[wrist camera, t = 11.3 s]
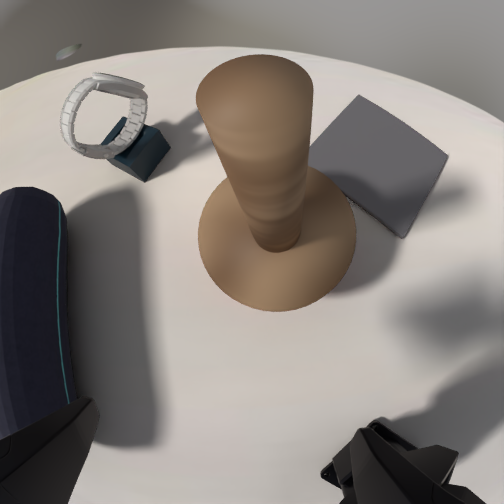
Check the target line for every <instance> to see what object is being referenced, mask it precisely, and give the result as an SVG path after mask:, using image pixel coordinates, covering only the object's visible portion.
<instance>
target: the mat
mask: <svg viewBox="0 0 504 504" xmlns="http://www.w3.org/2000/svg"><path fill="white" fill-rule="evenodd" d="M447 156H448V155H447V154H446V153H444V152H443V151H442V150H441V149H439V148H438V147H437V146H436V145H434V144H433V143H432V142H430V141H429V140H428V139H426V138H425V137H424V136H422V135H421V134H420V133H418V132H417V131H415V130H414V129H413V128H411V127H410V126H408V125H407V124H405V123H404V122H402V121H401V120H399V119H398V118H396V117H395V116H393V115H392V114H390V113H389V112H387V111H386V110H384V109H382V108H381V107H379V106H378V105H376V104H374V103H373V102H371V101H369V100H367V99H366V98H364V97H362V96H360V95H358V96H357V97H356V98H355V99H354V100H353V101H352V102H351V103H350V104H349V105H348V106H347V107H346V108H345V109H344V110H343V111H342V112H341V114H340V115H339V116H338V117H337V118H336V119H335V120H334V121H333V122H332V123H331V124H330V125H329V126H328V127H327V128H326V130H325V131H324V132H323V133H322V134H321V135H320V136H319V137H318V138H317V139H316V140H315V141H314V143H313V144H312V145H311V146H310V147H309V158H308V166H310V167H312V168H315V169H317V170H318V171H320V172H322V173H323V174H325V175H326V176H327V177H328V178H330V179H331V180H332V181H333V182H334V183H335V184H336V185H337V186H338V187H339V188H340V190H341V191H342V192H343V194H344V195H346V196H347V197H348V198H350V199H351V200H352V201H354V202H355V203H356V204H358V205H359V206H360V207H362V208H363V209H364V210H366V211H367V212H368V213H370V214H371V215H372V216H374V217H375V218H376V219H377V220H379V221H380V222H381V223H383V224H384V225H385V226H386V227H388V228H389V229H390V230H391V231H393V232H394V233H395V234H396V235H397V236H399V237H400V238H401V239H402V238H403V237H404V235H405V234H406V232H407V231H408V229H409V227H410V225H411V224H412V222H413V220H414V219H415V217H416V215H417V213H418V212H419V210H420V208H421V206H422V205H423V203H424V201H425V199H426V197H427V195H428V194H429V192H430V190H431V188H432V186H433V184H434V182H435V180H436V178H437V176H438V174H439V172H440V170H441V168H442V166H443V164H444V162H445V160H446V158H447Z"/></svg>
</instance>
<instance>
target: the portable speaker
mask: <svg viewBox="0 0 504 504" xmlns="http://www.w3.org/2000/svg"><path fill="white" fill-rule="evenodd" d="M67 248H68V239H67V220H66V216H65V213H64V210H63V208H62V205H61V203H60V202H59V201H58V200H57V199H56V198H55V197H54V196H53V195H52V194H50V193H48V192H46V191H43V190H41V189H38V188H35V187H15V188H12V189H9V190H6V191H4V192H2V193H1V194H0V439H2V438H4V437H6V436H8V435H12V434H13V433H15V432H17V431H19V430H20V429H22V428H24V427H26V426H28V425H30V424H32V423H34V422H36V421H38V420H40V419H42V418H44V417H45V416H47V415H49V414H51V413H53V412H55V411H57V410H58V409H60V408H62V407H64V406H66V405H68V404H69V403H71V402H73V401H75V400H77V395H76V390H75V384H74V378H73V371H72V363H71V355H70V346H69V335H68V320H67V290H66V278H67Z"/></svg>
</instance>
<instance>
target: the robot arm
mask: <svg viewBox="0 0 504 504" xmlns="http://www.w3.org/2000/svg"><path fill="white" fill-rule="evenodd" d="M98 421H99V412H98V409H97V406H96V403H95V401H94V400H93V399H92V398H89V397H86V396H82V397H80V398H78V399H77V400H75V401H73V402H71V403H69V404H68V405H66V406H64V407H62V408H60V409H58V410H57V411H55V412H53V413H51V414H49V415H47V416H45V417H44V418H42V419H40V420H38V421H36V422H34V423H32V424H30V425H28V426H26V427H24V428H22V429H20V430H19V431H17V432H15V433H13V434H12V435H8V436H6V437H4V438H2V439H0V504H68V502H69V499H70V497H71V494H72V492H73V489H74V487H75V484H76V482H77V479H78V477H79V474H80V472H81V470H82V467H83V465H84V463H85V460H86V458H87V456H88V453H89V450H90V447H91V444H92V440H93V437H94V434H95V431H96V427H97V424H98ZM374 425H377V427H376V428H375V429H372V427H373V426H374ZM458 454H459V453H458V452H457V451H454V450H451V449H448V448H445V447H442V446H440V445H434V446H430V447H425V448H421V449H418V448H416V447H415V446H413V445H412V444H410V443H409V442H407V441H406V440H404V439H403V438H401V437H400V436H398V435H397V434H395V433H394V432H393V431H391V430H390V429H388V428H387V427H385V426H384V425H382V424H381V423H380V422H378V421H372V422H371V423H369V425H368V426H367V427H365V428H359V429H358V430H357V431H356V433H355V435H354V437H353V439H352V440H351V441H350V442H349V443H348V444H347V445H346V446H345V447H344V448H343V449H342V450H341V451H340V452H339V453H338V454H337V455H336V456H334V457H333V461H332V462H331V463H329V464H328V465H327V466H326V467H325V468H324V469H323V470H322V471H321V473H320V474H321V478H322V479H324V480H326V481H328V482H329V483H331V484H333V485H335V486H336V487H338V488H340V489H342V491H343V495H344V499H343V500H342V501H341V502H340V503H339V504H486V503H485V502H484V501H482V500H481V499H480V498H479V497H478V496H476V495H475V494H474V493H473V492H472V491H471V490H469V489H468V488H466V487H464V486H458V485H452V484H449V481H450V479H451V476H452V473H453V470H454V467H455V464H456V461H457V458H458ZM327 472H328V473H329V474H328V475H324V474H325V473H327Z"/></svg>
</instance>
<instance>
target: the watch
mask: <svg viewBox="0 0 504 504" xmlns="http://www.w3.org/2000/svg"><path fill="white" fill-rule="evenodd" d="M92 76H93V77H91V78H87V79H83V80H81V82H79V83H78V84H77V85H76V86H75V88H73V89H72V91H71V92H70V93H69V95H68V97H67V98H66V100H65V102H64V105H63V108H62V110H61V115H60V118H61V119H60V129H61V134H62V137H63V138H64V141H65V142H66V143H67V144H68V145H69V146H71V149H72V150H74V151H75V152H77V153H79V154H81V155H83V156H86V157H89V158H94V159H107V160H108V161H109V162H110V163H111V164H112V165H114V166H116V167H118V168H119V169H121V170H123V171H125V172H127V173H128V174H130V175H132V176H134V177H136V178H137V179H139V180H141V181H143V182H144V183H145V181H146V180H147V179H148V177H149V176H150V175H151V173H152V172H153V170H154V169H155V168H156V166H157V165H158V164H159V162H160V161H161V160H162V158H163V157H164V156H165V154H166V153H167V152H168V151H169V149H170V148H171V147H170V146H169V144H168V143H167V141H166V140H165V138H164V137H163V135H162V134H161V132H160V131H159V130H158V129H156V128H153V127H151V126H148V125H145V124H144V122H145V119H146V115H147V114H146V113H147V106H148V105H147V98H148V96H147V94H146V93H145V92H144V91H143V90H142V89H143V88H144V87H145V86H144V85H143V84H141V83H138V82H136V81H133V80H129V79H126V78H122V77H118V76H114V75H109V74H104V73H93V74H92ZM92 90H97V91H101V92H105V93H110V94H114V95H118V96H122V97H126V98H129V99H130V100H131V101H130V110H129V115H128V117H129V118H126V117H122V118H121V120H120V121H119V122H118V123H117V124H116V126H115V127H114V128H113V129H112V130H111V132H110V133H109V134H108V135H107V137H106V138H105V139H104V141H103V142H102V143H101V144H99V145H87V144H82V143H79V142H77V141H76V139H75V135H74V134H73V133H74V124H73V123H74V122H75V118H76V114H77V113H76V112H77V111H78V109H79V107H80V105H81V101H83V100H84V99H85V97H86V96H87V95H88V94H89V92H91V91H92ZM73 102H74V103H73ZM68 113H69V114H68ZM135 113H136V114H135ZM138 114H139V115H138ZM142 122H143V123H142Z"/></svg>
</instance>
